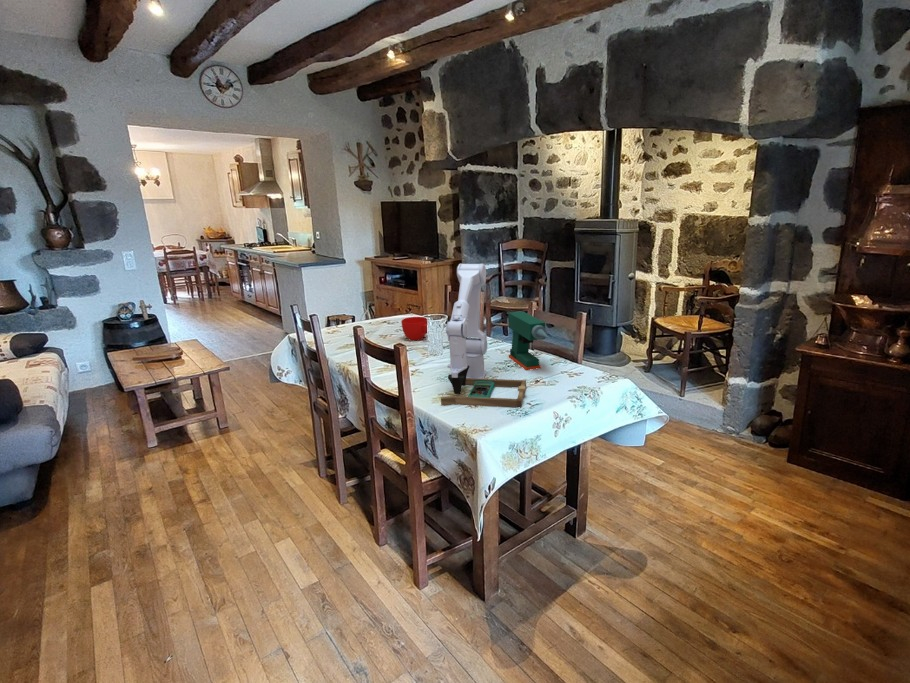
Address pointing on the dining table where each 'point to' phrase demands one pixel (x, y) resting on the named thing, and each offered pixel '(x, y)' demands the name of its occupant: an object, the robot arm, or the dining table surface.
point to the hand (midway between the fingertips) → (459, 389)
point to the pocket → (489, 401)
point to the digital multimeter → (482, 389)
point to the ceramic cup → (414, 327)
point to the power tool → (525, 338)
